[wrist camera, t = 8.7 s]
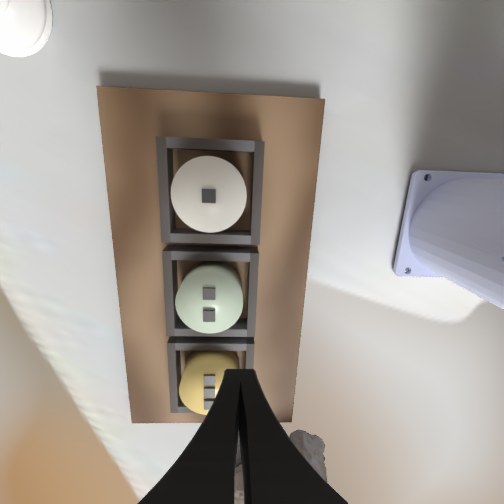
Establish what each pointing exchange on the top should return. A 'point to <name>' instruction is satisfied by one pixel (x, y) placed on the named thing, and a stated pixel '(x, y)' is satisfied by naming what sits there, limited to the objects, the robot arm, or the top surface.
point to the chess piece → (24, 26)
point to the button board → (209, 234)
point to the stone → (307, 447)
